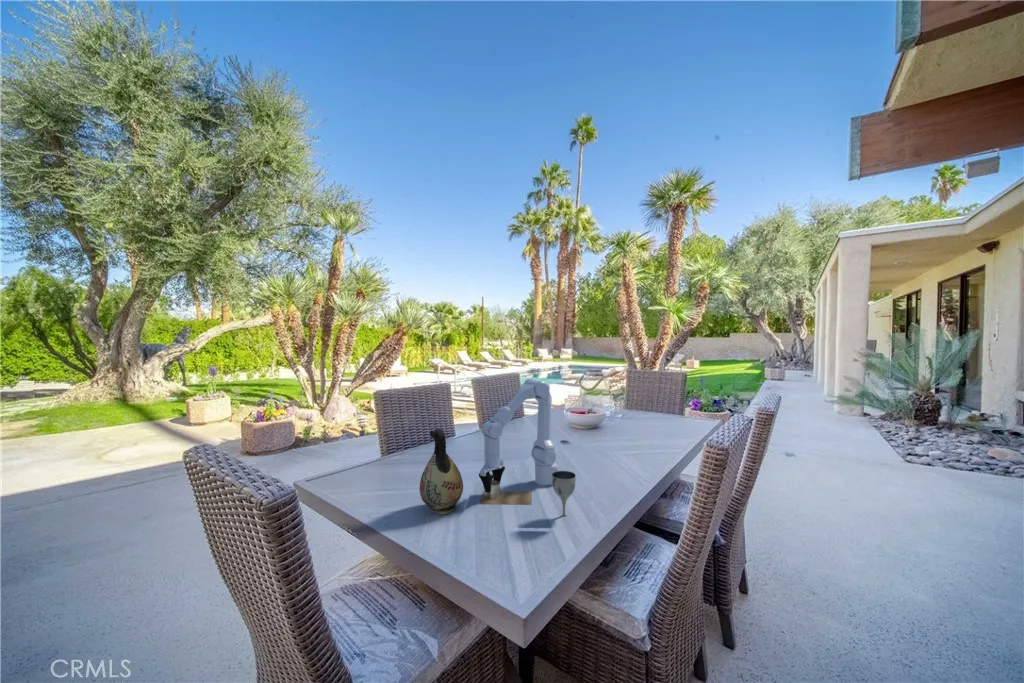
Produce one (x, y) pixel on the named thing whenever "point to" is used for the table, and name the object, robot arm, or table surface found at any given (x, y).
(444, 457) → the ceramic jug
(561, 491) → the wine glass
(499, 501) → the walnut board
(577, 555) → the table surface
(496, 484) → the steel collar
